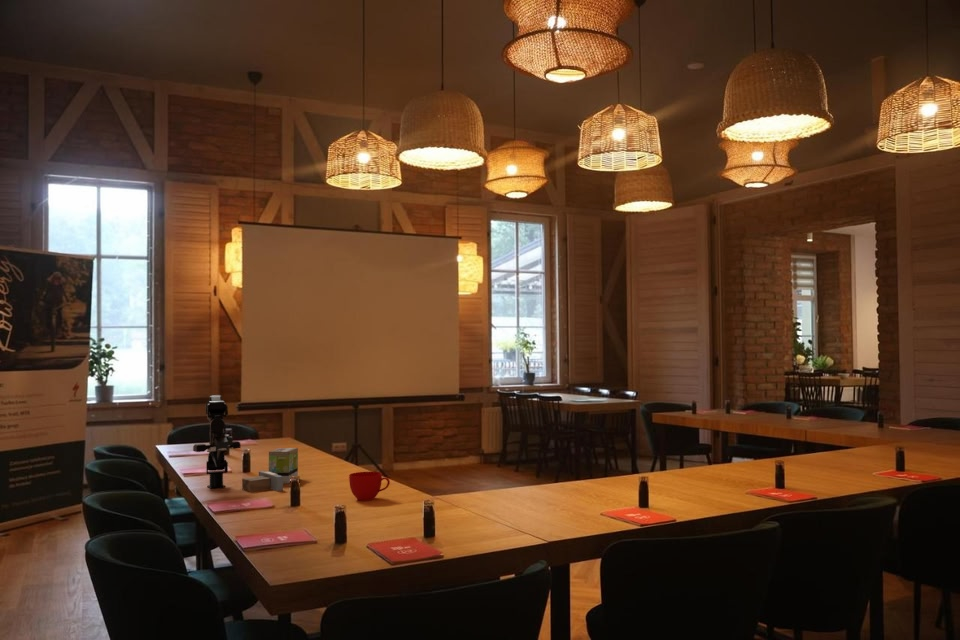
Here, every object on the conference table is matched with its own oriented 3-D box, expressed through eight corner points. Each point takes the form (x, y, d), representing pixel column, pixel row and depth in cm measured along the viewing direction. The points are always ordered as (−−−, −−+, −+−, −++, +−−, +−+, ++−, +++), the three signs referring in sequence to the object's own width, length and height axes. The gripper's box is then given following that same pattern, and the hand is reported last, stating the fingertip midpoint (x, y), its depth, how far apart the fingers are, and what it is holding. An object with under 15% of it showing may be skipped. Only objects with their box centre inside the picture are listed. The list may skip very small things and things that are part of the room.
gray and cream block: (258, 484, 344) (258, 470, 345) (264, 484, 346) (264, 470, 346) (277, 491, 327) (277, 476, 327) (283, 490, 328) (283, 475, 329)
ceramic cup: (382, 503, 294) (381, 477, 295) (343, 501, 300) (343, 476, 300) (396, 497, 306) (396, 472, 307) (359, 495, 312) (358, 471, 312)
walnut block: (242, 489, 334) (242, 478, 334) (261, 487, 340) (261, 475, 340) (250, 492, 327) (250, 480, 327) (270, 489, 333) (270, 478, 333)
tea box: (289, 483, 346) (289, 451, 347) (267, 484, 346) (267, 451, 347) (298, 478, 361) (298, 446, 362) (277, 478, 361) (277, 447, 362)
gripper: (200, 433, 317) (200, 471, 316) (244, 429, 328) (245, 466, 327) (192, 431, 326) (192, 468, 325) (236, 428, 337) (236, 463, 336)
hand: (217, 466), depth 328 cm, fingers closed
